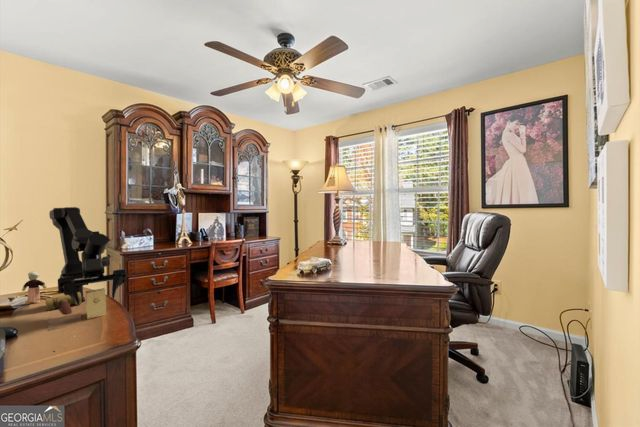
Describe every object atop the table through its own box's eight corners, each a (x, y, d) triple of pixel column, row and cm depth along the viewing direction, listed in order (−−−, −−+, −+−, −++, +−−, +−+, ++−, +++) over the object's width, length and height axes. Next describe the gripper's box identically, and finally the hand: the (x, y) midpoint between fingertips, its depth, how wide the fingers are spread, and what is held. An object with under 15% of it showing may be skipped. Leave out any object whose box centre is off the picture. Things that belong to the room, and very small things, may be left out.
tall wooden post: (86, 320, 98) (85, 291, 98) (105, 316, 102) (104, 288, 101) (87, 323, 96) (86, 293, 95) (106, 319, 99) (105, 290, 99)
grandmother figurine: (19, 305, 115) (18, 273, 115) (23, 303, 118) (21, 271, 118) (46, 302, 119) (44, 271, 118) (48, 299, 122) (47, 269, 122)
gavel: (87, 307, 103) (48, 316, 96) (87, 320, 103) (49, 329, 96) (79, 290, 117) (45, 296, 110) (80, 301, 118) (46, 308, 111)
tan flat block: (48, 323, 96) (47, 319, 96) (81, 317, 102) (81, 312, 102) (46, 336, 87) (46, 331, 87) (83, 328, 92) (82, 323, 92)
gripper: (56, 252, 95) (57, 294, 87) (125, 246, 107) (131, 282, 99) (57, 273, 101) (59, 313, 93) (122, 264, 113) (128, 300, 106)
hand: (96, 301), depth 98 cm, fingers open, 9 cm apart
